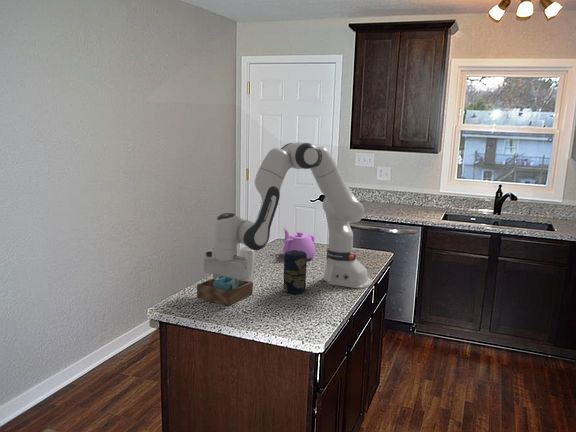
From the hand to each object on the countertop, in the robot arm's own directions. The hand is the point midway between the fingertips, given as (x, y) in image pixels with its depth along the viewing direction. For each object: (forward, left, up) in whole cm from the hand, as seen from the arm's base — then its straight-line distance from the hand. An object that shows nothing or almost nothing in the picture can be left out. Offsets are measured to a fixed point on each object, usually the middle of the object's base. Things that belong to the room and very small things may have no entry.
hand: (225, 286), depth 202 cm
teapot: (+6, -71, -4) cm, 71 cm away
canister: (-20, -22, -4) cm, 30 cm away
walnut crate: (0, 0, -4) cm, 4 cm away
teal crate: (0, 0, -2) cm, 2 cm away
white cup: (+4, -21, -4) cm, 22 cm away
